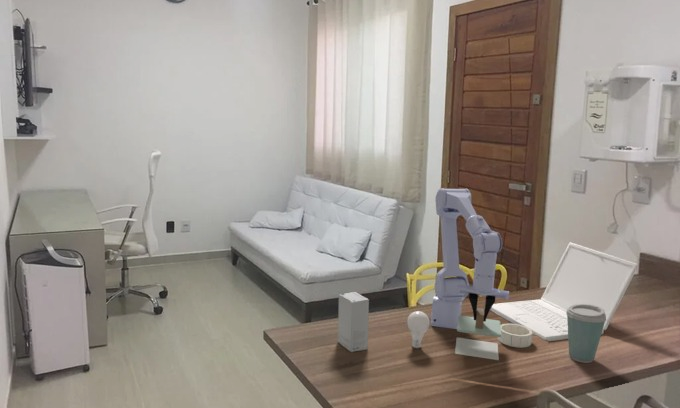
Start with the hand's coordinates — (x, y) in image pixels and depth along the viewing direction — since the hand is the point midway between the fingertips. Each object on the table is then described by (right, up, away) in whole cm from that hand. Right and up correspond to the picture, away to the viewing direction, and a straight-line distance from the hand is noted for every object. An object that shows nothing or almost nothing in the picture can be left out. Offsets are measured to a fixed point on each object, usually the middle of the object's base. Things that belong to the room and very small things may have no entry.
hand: (479, 319), depth 163 cm
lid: (0, -2, 0) cm, 2 cm away
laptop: (+33, -7, +30) cm, 46 cm away
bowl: (+13, -9, +9) cm, 17 cm away
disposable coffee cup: (+29, -11, 0) cm, 31 cm away
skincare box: (-37, -8, 0) cm, 38 cm away
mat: (-1, -9, +2) cm, 9 cm away
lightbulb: (-18, -9, +1) cm, 20 cm away
